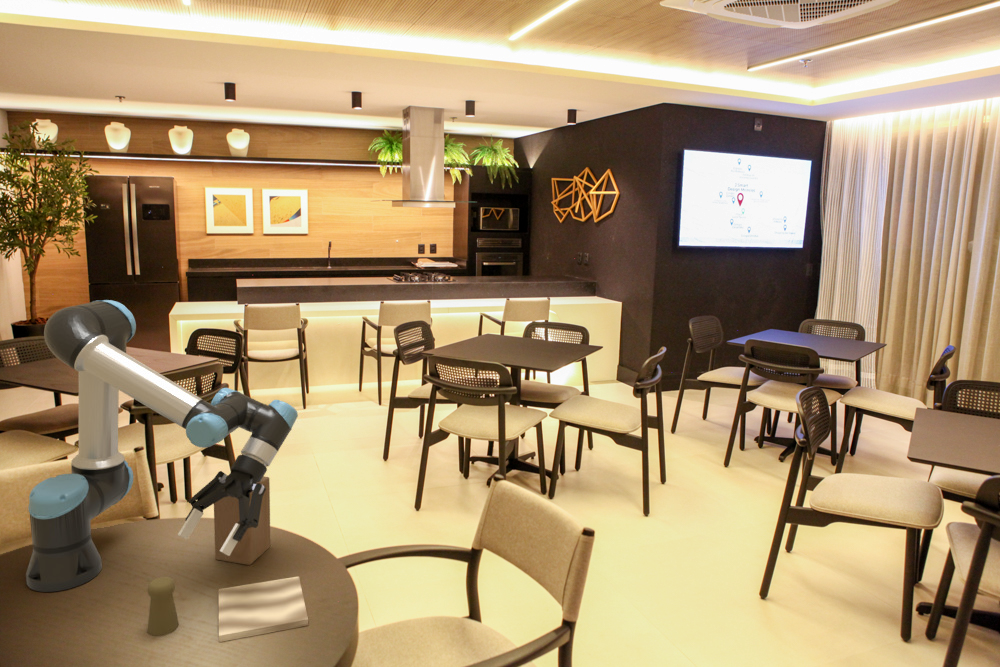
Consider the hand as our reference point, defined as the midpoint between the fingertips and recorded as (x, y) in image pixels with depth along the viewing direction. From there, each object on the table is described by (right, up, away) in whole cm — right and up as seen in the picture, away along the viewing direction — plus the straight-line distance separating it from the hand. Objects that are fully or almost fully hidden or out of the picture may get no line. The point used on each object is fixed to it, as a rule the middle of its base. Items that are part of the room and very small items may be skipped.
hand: (202, 545), depth 149 cm
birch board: (+13, -15, +2) cm, 20 cm away
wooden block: (0, -10, +25) cm, 27 cm away
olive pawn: (-6, -16, -6) cm, 18 cm away
